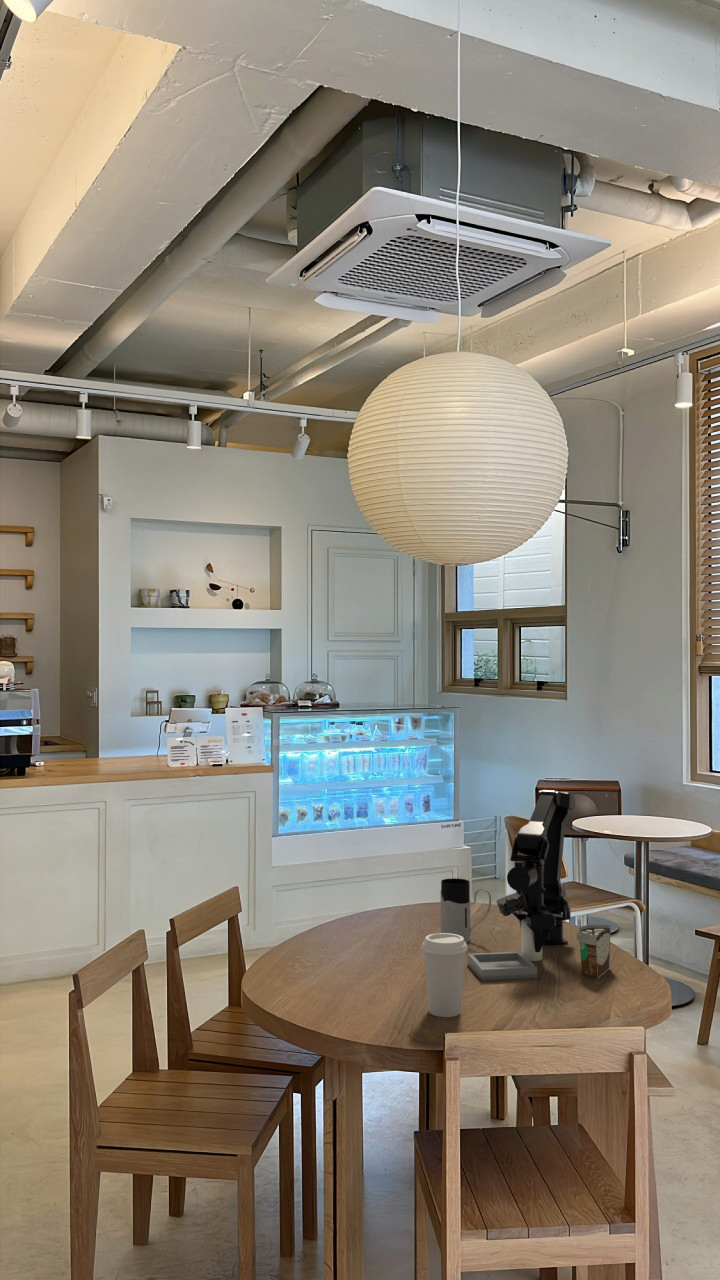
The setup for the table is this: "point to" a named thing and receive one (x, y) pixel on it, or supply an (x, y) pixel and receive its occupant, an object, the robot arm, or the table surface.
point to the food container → (594, 949)
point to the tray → (502, 966)
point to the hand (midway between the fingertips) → (532, 947)
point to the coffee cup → (444, 972)
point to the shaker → (529, 944)
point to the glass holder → (457, 907)
